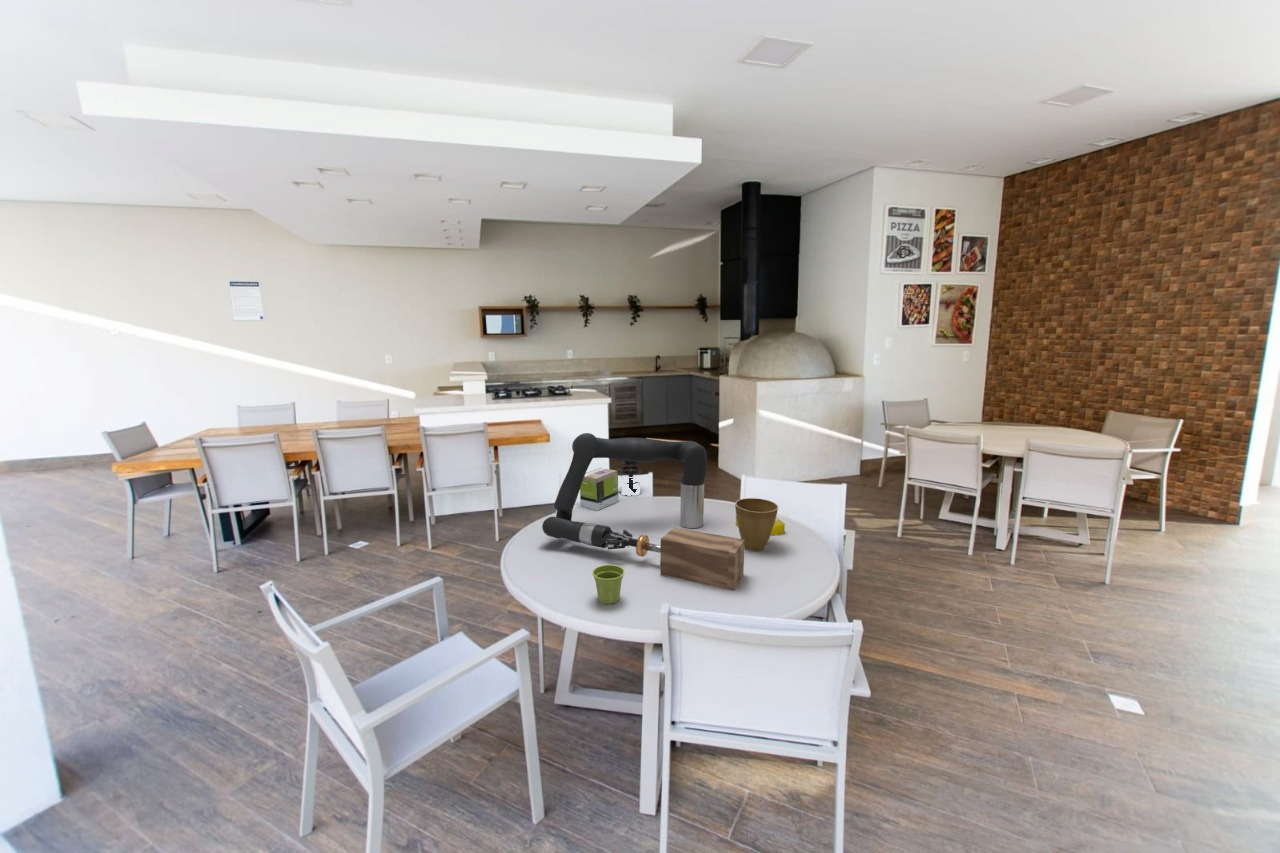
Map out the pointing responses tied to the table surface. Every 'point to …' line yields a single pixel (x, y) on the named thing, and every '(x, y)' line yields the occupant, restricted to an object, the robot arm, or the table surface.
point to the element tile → (775, 527)
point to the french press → (630, 472)
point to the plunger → (646, 546)
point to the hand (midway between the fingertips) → (640, 543)
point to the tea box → (599, 489)
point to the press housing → (702, 558)
